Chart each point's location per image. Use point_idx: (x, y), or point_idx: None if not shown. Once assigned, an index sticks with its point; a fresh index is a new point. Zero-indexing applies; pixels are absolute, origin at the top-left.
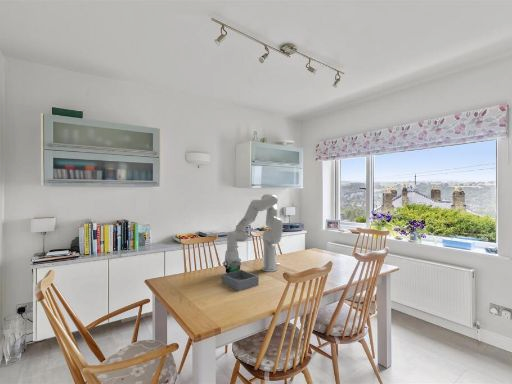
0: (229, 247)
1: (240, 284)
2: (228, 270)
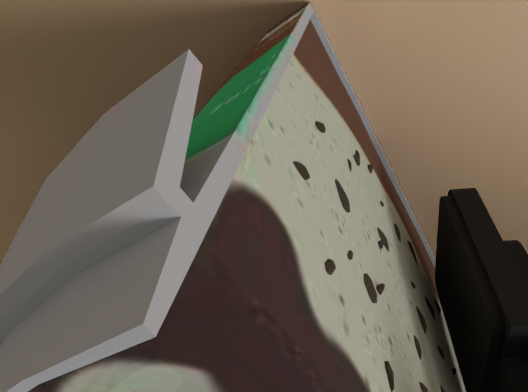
0: None
1: None
2: None
